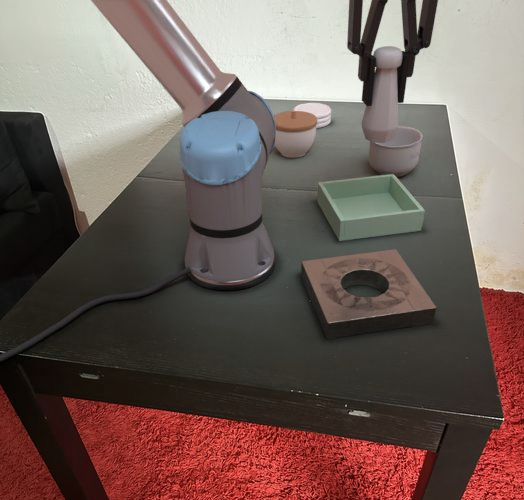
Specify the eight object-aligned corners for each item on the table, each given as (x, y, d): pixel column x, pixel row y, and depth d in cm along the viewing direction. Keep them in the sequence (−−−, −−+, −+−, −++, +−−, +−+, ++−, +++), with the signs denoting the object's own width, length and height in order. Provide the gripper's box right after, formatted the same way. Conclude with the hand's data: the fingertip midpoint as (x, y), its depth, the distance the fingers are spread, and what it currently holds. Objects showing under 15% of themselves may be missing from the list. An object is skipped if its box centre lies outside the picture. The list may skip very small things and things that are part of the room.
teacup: (416, 183, 110) (423, 145, 105) (364, 180, 112) (368, 143, 107) (416, 156, 120) (422, 120, 115) (368, 154, 122) (371, 118, 117)
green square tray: (339, 241, 94) (340, 220, 92) (317, 201, 106) (317, 182, 103) (421, 230, 96) (425, 210, 93) (391, 193, 107) (393, 173, 105)
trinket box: (325, 153, 123) (327, 112, 117) (288, 165, 119) (288, 123, 112) (297, 140, 130) (298, 100, 123) (262, 151, 125) (260, 110, 119)
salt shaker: (356, 142, 84) (363, 51, 75) (365, 130, 88) (373, 42, 79) (392, 147, 82) (404, 54, 73) (400, 133, 86) (412, 44, 77)
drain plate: (326, 339, 75) (328, 323, 73) (301, 276, 87) (301, 261, 85) (432, 323, 77) (436, 307, 75) (393, 264, 89) (395, 248, 86)
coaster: (290, 117, 142) (290, 103, 139) (326, 114, 142) (327, 100, 140) (295, 130, 134) (296, 116, 132) (334, 127, 135) (335, 113, 132)
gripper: (344, -91, 62) (333, 115, 78) (484, -99, 63) (446, 104, 79) (328, -94, 67) (321, 98, 83) (458, -102, 69) (427, 89, 85)
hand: (382, 101), depth 81 cm, fingers closed on salt shaker, 4 cm apart
